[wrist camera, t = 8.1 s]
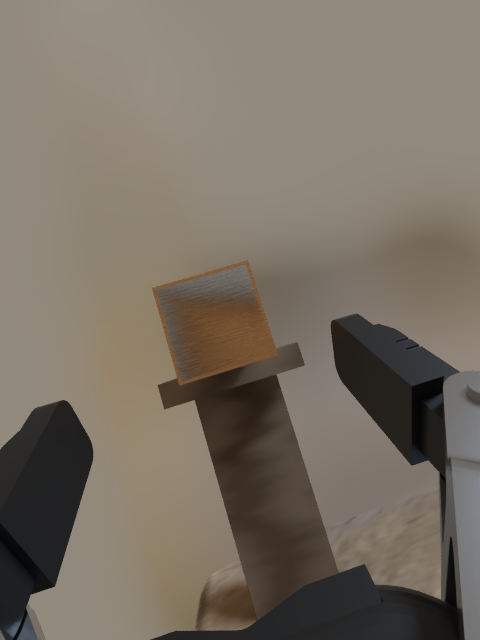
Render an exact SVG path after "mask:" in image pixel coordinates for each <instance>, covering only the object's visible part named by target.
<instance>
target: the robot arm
mask: <svg viewBox="0 0 480 640" xmlns="http://www.w3.org/2000/svg"><path fill="white" fill-rule="evenodd" d="M331 334H332V342H333V350H334V359H335V366H336V369H337V372H338V375H339V377H340V379H341V381H342V382H343V383H344V385H345V386H346V387H347V388H348V390H349V391H350V392H351V393H352V394H353V396H354V397H355V398H356V399H357V400H358V402H359V403H360V404H361V405H362V407H363V408H364V409H365V410H366V411H367V413H368V414H369V415H370V416H371V417H372V419H373V420H374V421H375V422H376V423H377V425H378V426H379V427H380V428H381V429H382V431H383V432H384V433H385V434H386V435H387V436H388V438H389V439H390V440H391V441H392V443H393V444H394V445H395V446H396V447H397V449H398V450H399V451H400V452H401V453H402V454H403V456H404V457H405V458H406V459H407V461H408V462H409V463H410V464H411V465H415V464H418V463H421V462H424V461H427V460H429V461H430V462H431V464H432V465H433V466H434V467H435V468H436V469H437V470H438V471H439V505H440V533H441V600H440V599H438V598H435V597H433V596H430V595H427V594H425V593H422V592H419V591H415V590H412V589H408V588H404V587H398V586H390V585H375V584H374V582H373V580H372V578H371V576H370V574H369V572H368V570H367V568H366V566H365V564H364V565H361V566H358V567H355V568H352V569H349V570H347V571H344V572H341V573H338V574H335V575H332V576H330V577H327V578H324V579H321V580H318V581H315V582H313V583H310V584H307V585H304V586H303V587H302V588H300V589H299V590H298V591H296V592H295V593H294V594H292V595H291V596H290V597H288V598H287V599H286V600H284V601H283V602H282V603H280V604H279V605H278V606H276V607H275V608H274V609H272V610H271V611H270V612H268V613H267V614H266V615H264V616H263V617H262V618H260V619H259V620H258V621H256V622H255V623H254V624H252V625H251V626H249V627H248V628H246V629H243V630H237V631H174V632H171V633H168V634H165V635H163V636H160V637H157V638H154V639H151V640H480V371H466V372H459V371H458V370H456V369H455V368H453V367H452V366H450V365H449V364H447V363H446V362H444V361H443V360H441V359H440V358H438V357H437V356H435V355H434V354H432V353H431V352H429V351H427V350H426V349H425V348H423V347H422V346H421V347H419V344H417V343H416V342H414V341H413V340H411V339H410V340H409V339H408V337H406V336H405V335H404V334H402V333H401V332H399V331H398V330H396V329H394V328H390V327H387V326H384V325H381V324H377V325H372V324H371V323H370V322H368V321H367V320H366V319H364V318H363V317H361V316H360V315H359V314H353V315H349V316H346V317H343V318H339V319H336V320H333V321H332V322H331ZM92 461H93V448H92V443H91V440H90V438H89V436H88V435H87V433H86V431H85V429H84V428H83V426H82V424H81V422H80V421H79V419H78V417H77V415H76V414H75V412H74V410H73V408H72V407H71V405H70V404H69V403H68V402H67V401H65V400H61V401H58V402H55V403H51V404H48V405H44V406H41V407H38V408H35V409H34V410H33V411H32V412H31V414H30V416H29V417H28V419H27V420H26V422H25V423H24V425H23V427H22V428H21V430H20V431H19V432H18V433H17V434H16V435H14V436H13V437H12V438H11V439H10V440H9V441H8V442H7V443H6V444H5V445H4V446H3V447H2V448H1V450H0V640H45V637H44V634H43V632H42V630H41V627H40V624H39V622H38V619H37V617H36V614H35V612H34V611H33V610H32V609H31V608H30V606H29V605H28V601H29V598H30V595H31V594H34V593H37V592H40V591H43V590H45V589H49V588H52V587H55V584H56V581H57V578H58V574H59V571H60V567H61V564H62V561H63V558H64V555H65V551H66V548H67V545H68V541H69V538H70V535H71V531H72V528H73V525H74V521H75V518H76V514H77V511H78V508H79V505H80V501H81V498H82V495H83V491H84V488H85V484H86V481H87V478H88V475H89V471H90V468H91V465H92Z"/></svg>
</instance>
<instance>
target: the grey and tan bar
mask: <svg viewBox="0 0 480 640" xmlns="http://www.w3.org/2000/svg"><path fill="white" fill-rule="evenodd" d="M152 289H153V293H154V296H155V300H156V304H157V307H158V311H159V314H160V318H161V322H162V325H163V329H164V332H165V336H166V339H167V343H168V347H169V350H170V354H171V357H172V361H173V364H174V368H175V372H176V375H177V379H178V382H179V386H180V385H183V384H186V383H190V382H193V381H196V380H199V379H203V378H206V377H209V376H212V375H216V374H219V373H222V372H225V371H228V370H232V369H235V368H238V367H241V366H245V365H248V364H251V363H254V362H258V361H261V360H264V359H267V358H270V357H274V356H277V355H278V354H277V351H276V348H275V345H274V341H273V338H272V335H271V332H270V329H269V325H268V323H267V319H266V316H265V313H264V310H263V307H262V304H261V300H260V297H259V294H258V291H257V288H256V284H255V281H254V278H253V275H252V272H251V269H250V265H249V263H248V261H245V262H241V263H238V264H234V265H231V266H227V267H224V268H220V269H217V270H213V271H210V272H206V273H203V274H199V275H196V276H192V277H189V278H186V279H182V280H178V281H175V282H171V283H168V284H164V285H161V286H158V287H154V288H152Z"/></svg>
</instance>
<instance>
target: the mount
mask: <svg viewBox="0 0 480 640" xmlns="http://www.w3.org/2000/svg"><path fill="white" fill-rule="evenodd" d="M276 351H277V354H278V355H277V356H274V357H270V358H267V359H264V360H261V361H258V362H254V363H251V364H248V365H245V366H241V367H238V368H235V369H232V370H228V371H225V372H222V373H219V374H216V375H212V376H209V377H206V378H203V379H199V380H196V381H193V382H190V383H186V384H183V385H180V386H179V382H178V379H177V378H176V379H174V380H171V381H168V382H165V383H162V384H160V385H158V388H159V391H160V395H161V399H162V403H163V406H164V409H167V408H170V407H173V406H176V405H180V404H183V403H186V402H189V401H192V400H195V402H196V406H197V410H198V413H199V417H200V420H201V423H202V427H203V431H204V434H205V437H206V441H207V445H208V448H209V452H210V455H211V459H212V462H213V466H214V469H215V473H216V476H217V480H218V483H219V487H220V491H221V494H222V498H223V501H224V505H225V508H226V512H227V515H228V519H229V522H230V525H231V529H232V533H233V536H234V540H235V543H236V547H237V550H238V554H239V557H240V561H241V565H242V568H243V572H244V575H245V579H246V582H247V586H248V589H249V593H250V596H251V600H252V603H253V607H254V610H255V614H256V617H257V621H258V620H259V619H260V618H262V617H263V616H264V615H266V614H267V613H268V612H270V611H271V610H272V609H274V608H275V607H276V606H278V605H279V604H280V603H282V602H283V601H284V600H286V599H287V598H288V597H290V596H291V595H292V594H294V593H295V592H296V591H298V590H299V589H300V588H302V587H303V586H304V585H307V584H310V583H313V582H315V581H318V580H321V579H324V578H327V577H330V576H332V575H335V574H338V569H337V566H336V563H335V560H334V557H333V553H332V550H331V547H330V544H329V541H328V537H327V534H326V531H325V528H324V525H323V522H322V518H321V515H320V512H319V509H318V506H317V502H316V500H315V496H314V493H313V490H312V486H311V483H310V480H309V477H308V474H307V471H306V468H305V464H304V461H303V458H302V455H301V451H300V448H299V445H298V442H297V439H296V436H295V432H294V429H293V426H292V423H291V420H290V417H289V413H288V410H287V407H286V404H285V401H284V397H283V394H282V391H281V388H280V385H279V382H278V378H277V375H276V374H279V373H282V372H285V371H288V370H291V369H294V368H297V367H301V366H304V361H303V358H302V355H301V352H300V349H299V346H298V343H297V342H296V343H292V344H288V345H284V346H280V347H276Z"/></svg>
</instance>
